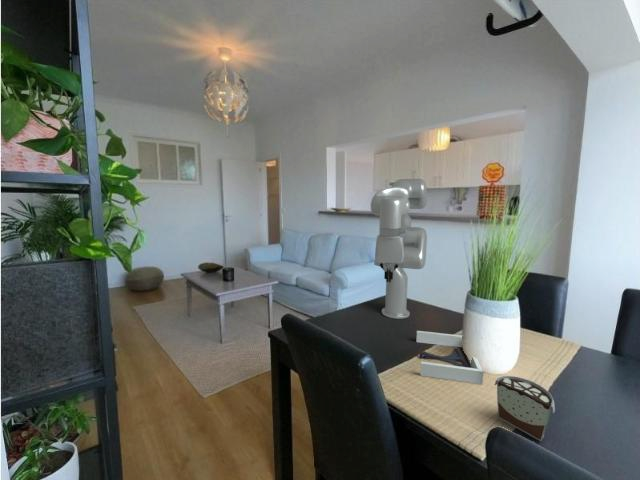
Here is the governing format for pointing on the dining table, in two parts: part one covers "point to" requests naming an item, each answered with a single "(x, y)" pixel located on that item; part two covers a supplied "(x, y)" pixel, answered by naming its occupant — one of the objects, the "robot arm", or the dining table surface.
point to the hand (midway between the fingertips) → (388, 280)
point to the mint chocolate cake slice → (524, 405)
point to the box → (449, 371)
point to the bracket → (448, 358)
